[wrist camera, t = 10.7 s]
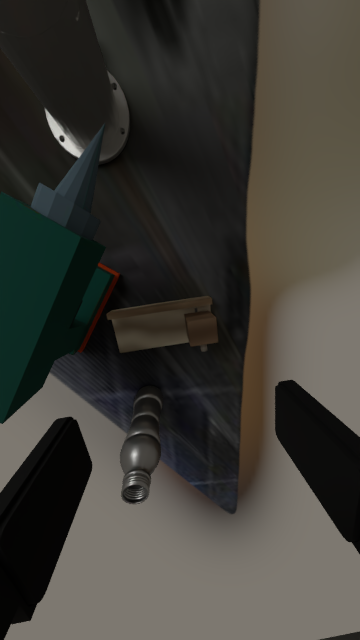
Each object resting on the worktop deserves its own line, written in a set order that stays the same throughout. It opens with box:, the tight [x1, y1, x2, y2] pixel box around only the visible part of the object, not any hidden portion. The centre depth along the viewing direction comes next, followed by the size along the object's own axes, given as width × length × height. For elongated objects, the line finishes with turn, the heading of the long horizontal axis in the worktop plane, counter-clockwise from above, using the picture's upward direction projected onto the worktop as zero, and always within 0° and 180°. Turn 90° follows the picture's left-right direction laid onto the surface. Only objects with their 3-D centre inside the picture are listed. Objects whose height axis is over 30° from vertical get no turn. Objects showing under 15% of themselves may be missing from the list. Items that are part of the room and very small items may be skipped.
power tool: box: [0, 123, 120, 424], centre depth 26 cm, size 32×7×20 cm, turn 150°
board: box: [106, 296, 212, 353], centre depth 37 cm, size 9×20×4 cm, turn 98°
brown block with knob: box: [184, 310, 218, 352], centre depth 35 cm, size 6×5×6 cm
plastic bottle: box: [120, 385, 163, 504], centre depth 33 cm, size 6×7×20 cm
